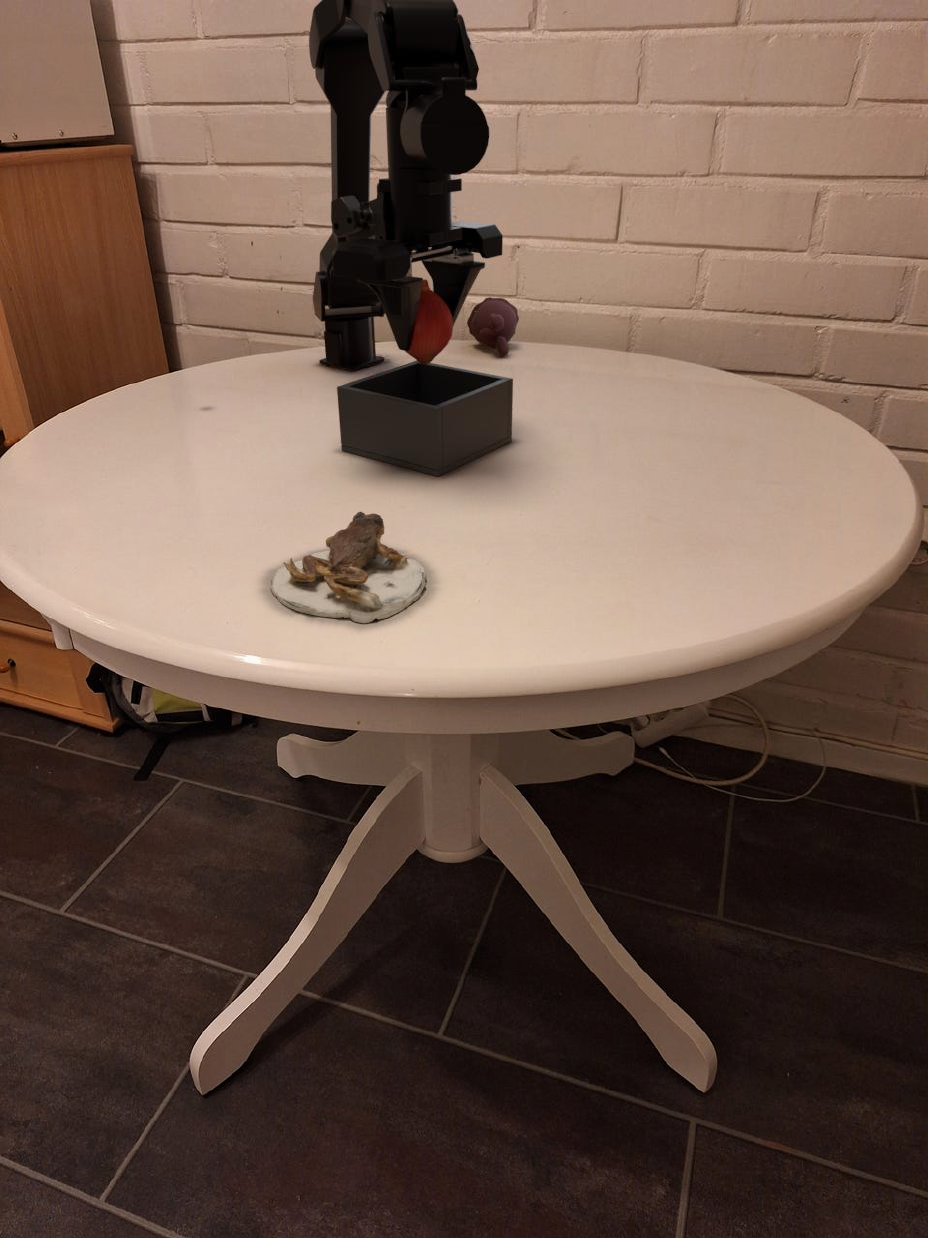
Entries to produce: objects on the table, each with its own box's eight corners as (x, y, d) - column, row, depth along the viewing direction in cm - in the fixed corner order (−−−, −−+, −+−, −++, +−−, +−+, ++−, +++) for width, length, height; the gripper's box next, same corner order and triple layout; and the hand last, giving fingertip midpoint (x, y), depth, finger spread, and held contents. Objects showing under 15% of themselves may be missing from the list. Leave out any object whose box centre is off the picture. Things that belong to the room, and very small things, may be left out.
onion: (384, 368, 89) (380, 282, 85) (409, 354, 93) (407, 272, 89) (439, 374, 87) (438, 286, 83) (462, 359, 91) (461, 275, 87)
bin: (418, 419, 102) (416, 359, 98) (511, 441, 95) (513, 378, 92) (341, 450, 93) (336, 386, 90) (438, 476, 87) (436, 408, 83)
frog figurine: (311, 539, 75) (306, 495, 73) (449, 558, 71) (448, 513, 69) (239, 604, 65) (232, 556, 63) (395, 630, 62) (392, 580, 60)
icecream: (457, 290, 134) (467, 321, 122) (506, 276, 133) (521, 306, 121) (469, 335, 138) (479, 370, 126) (516, 322, 137) (531, 355, 125)
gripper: (416, 156, 92) (420, 316, 100) (280, 169, 79) (297, 350, 87) (507, 161, 86) (503, 329, 94) (376, 175, 73) (385, 369, 81)
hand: (424, 343), depth 89 cm, fingers closed on onion, 6 cm apart
